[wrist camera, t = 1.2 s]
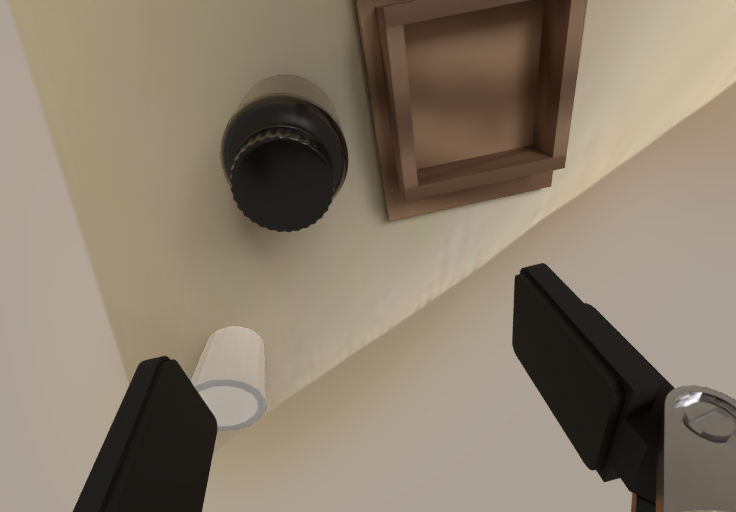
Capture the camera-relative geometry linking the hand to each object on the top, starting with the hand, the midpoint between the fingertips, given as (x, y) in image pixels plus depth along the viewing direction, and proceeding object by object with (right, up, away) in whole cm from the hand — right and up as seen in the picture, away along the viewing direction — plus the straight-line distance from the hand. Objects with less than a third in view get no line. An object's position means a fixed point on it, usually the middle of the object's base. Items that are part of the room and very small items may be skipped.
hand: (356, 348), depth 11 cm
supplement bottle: (-5, +12, +17) cm, 22 cm away
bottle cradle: (+7, +15, +17) cm, 24 cm away
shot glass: (-13, -6, +28) cm, 32 cm away
